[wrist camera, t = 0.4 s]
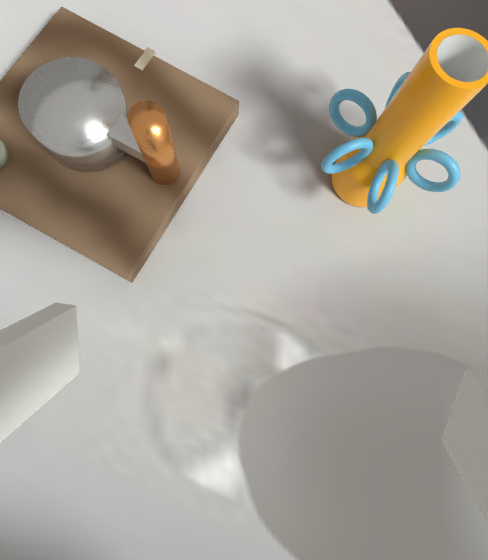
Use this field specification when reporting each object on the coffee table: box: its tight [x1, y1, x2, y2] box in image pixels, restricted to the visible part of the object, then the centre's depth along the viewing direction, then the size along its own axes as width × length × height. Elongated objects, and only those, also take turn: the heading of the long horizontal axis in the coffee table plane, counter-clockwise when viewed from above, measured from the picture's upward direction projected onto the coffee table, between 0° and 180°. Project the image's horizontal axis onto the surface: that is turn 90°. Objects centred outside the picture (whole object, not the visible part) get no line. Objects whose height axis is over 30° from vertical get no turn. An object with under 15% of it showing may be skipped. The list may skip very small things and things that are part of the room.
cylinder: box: [321, 28, 488, 213], centre depth 26 cm, size 12×10×15 cm
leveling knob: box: [18, 57, 180, 185], centre depth 27 cm, size 13×8×8 cm, turn 61°
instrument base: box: [0, 7, 239, 282], centre depth 31 cm, size 20×20×4 cm
